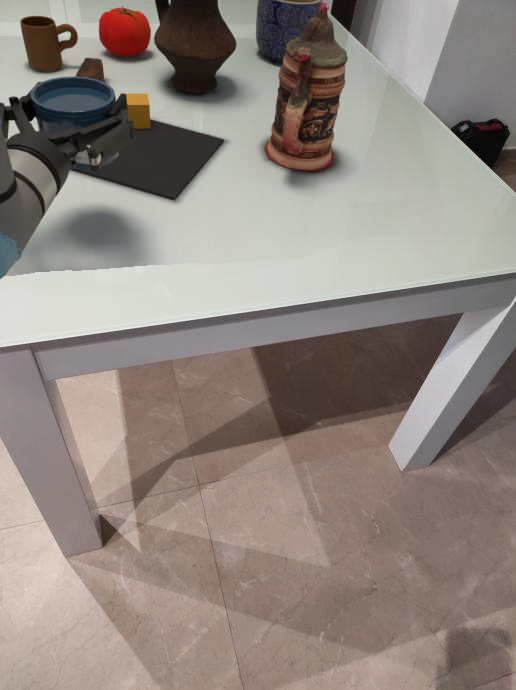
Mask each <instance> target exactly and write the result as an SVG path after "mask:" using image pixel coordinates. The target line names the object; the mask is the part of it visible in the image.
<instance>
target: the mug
mask: <svg viewBox="0 0 516 690" xmlns="http://www.w3.org/2000/svg"><path fill="white" fill-rule="evenodd" d="M19 24H20V29H21V35H22V40H23V44H24V47H25V48H24V49H25V53H26V57H27V61H28V64H29V67H30V68H31V69H33V70H35V71H37V72H42V73H43V72H44V73H46V72H48V73H49V72H56V71H58V70H60V69H61V68H62V66H63V58H62V52H64V51H65V50H67V49H72V48H74V47H75V46H76V45H77V43H78V41H79V35H78V31H77V30H76V28H75V27H74V26H73V25H72V24H69V23H61V24H59V25H57V23H56V21H55V20H54V19H53V18H52V17H48V16H44V15H29V16H25V17H22V18H21V19H20V21H19ZM67 32H68V33H70V37H69V39H63V40H60V39H59V36H60V35H62V34H64V33H67Z"/></svg>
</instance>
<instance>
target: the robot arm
mask: <svg viewBox="0 0 516 690" xmlns="http://www.w3.org/2000/svg"><path fill="white" fill-rule="evenodd" d="M41 82H42V81H37V82H36V84H35V85H34V86H36V85H38V84H39V83H41ZM34 86H33V87H32V88H31V89H30V91H28V93H27V94H26V95H22V96H21V97H18V96H16V95H15V96H10V97H8V102H9V105H5V103H4V102H0V280H2V279H3V278H4V277H5V276H6V275H8V272H9V271H10V270H11V268H12V267H13V266H14V264H15V263H16V262H18V261H19V260H20V259H21V258H22V254H23V252H24V251H25V249H26V247H27V245H28V243H29V242H30V240H31V238H32V237H33V235H34V233H35V232H36V230H37V229H38V227H39V225H40V223H41V222H42V220H43V218H44V216H45V214H46V213H47V211H48V210H49V209H50V207H51V205H52V204H53V202H54V200H55V199H56V197H57V196H58V195H59V193H60V192H61V190H62V188H63V187H64V185H65V183H66V182H67V180H68V178H69V174H70V171H71V168H72V167H74V166H76V165H77V164H78V163H84V164H90V169H91V170H92V171H98V170H100V168H101V166H102V165H103V163H104V162H105V161H106V160H108V159H109V158H111V157H112V156H113V155H115V154H116V153H118V152H119V151H120V150H122V149H123V148H125V147H126V146H127V145H129V144H130V143H132V142H133V141H134V140H135V133H134V122H133V121H132V120H129V118H128V107H127V96H126V94H123V93H120V94H119V96H118V97H117V99H116V102H115V104H114V105H113V107H112V109H111V110H110V112H109V113H108V114H109V119H106V120H103V121H101V122H98V123H96V124H93V125H90V126H88V127H85V128H83V129H80V130H76V129H74V128H72V129H69V130H67V131H64V132H61V133H51V132H48V131H43V130H40V131H39V130H38V131H37V130H36V129H35V127H34V126H33V123H32V122H33V120H34V119H36V116H35V112H34V108H33V105H32V100H31V94H30V92H31V91H32V89H33V88H34ZM10 121H14V124H15V125H16V128H17V130H18V133H15V134H13V135H12V136H10V137H9V130H10V129H9V128H10ZM70 139H72V142H73V143H72V142H71V140H70Z"/></svg>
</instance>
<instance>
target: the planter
mask: <svg viewBox="0 0 516 690" xmlns="http://www.w3.org/2000/svg"><path fill="white" fill-rule="evenodd" d="M321 3H324V0H257V5H256V17H255V41H256V45H257V47H258V49H259V51H260V52H261V54H262V55H263V56H264V57H265V58H267V59H269V60H271V61H274V62H276V63H280V64H281V63H282V64H283V59H284V56H285V52H286V45H287V43H288V41H291V40H293V39H295V38H297V37H300V36H301V35H302V33H303V30H304V28H305V26H306V24H307V21H310V18H313V17H316V15H317V14H318V10H319V8H320V5H321Z"/></svg>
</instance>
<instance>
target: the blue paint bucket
mask: <svg viewBox="0 0 516 690" xmlns="http://www.w3.org/2000/svg"><path fill="white" fill-rule="evenodd" d="M40 82H41V83H39V84H38V85H36V84H35V85H36V86H35V85H34V86H33V87H34V88H33V87H32V88H33V89H32V88H31V90H32V91H31V90H30V91H31V92H30V91H29V92H30V94H31V100H32V105H33V108H34V112H35V116H36V117H35V120H36V125H37V129H38V131H40V130H43V131H48V132H51V133H61V132H64V131H67V130H69V129H72V128H74V129H76V130H80V129H83V128H85V127H88V126H90V125H93V124H96V123H98V122H101V121H103V120H106V119H109V114H108V113H109V112H110V110H111V109H112V107H113V105H114V104H115V102H116V101H117V99H116V93H115V90H114V88H113V87H111V85H109V84H108V83H106V82H104V81H103V82H102V81H100V80H96V79H92V78H87V77H77V76H76V75H75V76H74V75H73V76H60V77H53V78H49V79H46V80H43V81H40ZM70 140H71V142H72V139H70ZM72 143H73V142H72ZM120 151H121V150H120ZM120 151H119V152H118V153H116V154H115V155H113V156H112V157H111V158H109V159H108V160H106V161H105V162H104V163H103V165H106V164H108V163H110V162H112V161H114V160H115V159H116V158H117V157H118V156H119V154H120ZM103 165H102V166H103ZM89 168H90V164H84V163H78V164H77V165H76V166H74V167H72V169H89Z"/></svg>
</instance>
